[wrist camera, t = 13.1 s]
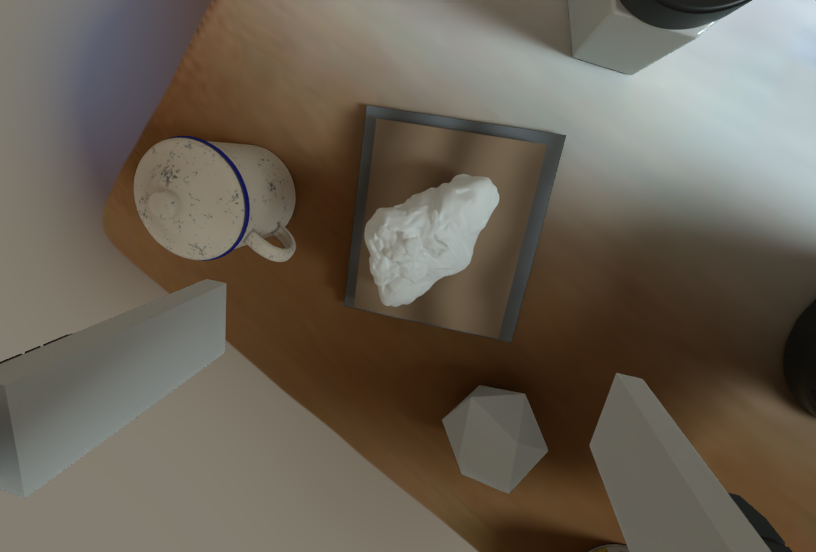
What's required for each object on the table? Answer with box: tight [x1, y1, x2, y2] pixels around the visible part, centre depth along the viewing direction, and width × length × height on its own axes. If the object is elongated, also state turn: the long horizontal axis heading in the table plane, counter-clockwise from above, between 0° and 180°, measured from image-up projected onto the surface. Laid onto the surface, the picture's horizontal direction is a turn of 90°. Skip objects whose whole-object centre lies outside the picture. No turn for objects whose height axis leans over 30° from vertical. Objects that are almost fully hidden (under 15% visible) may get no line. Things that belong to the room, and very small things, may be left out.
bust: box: [364, 174, 499, 307], centre depth 27 cm, size 12×8×11 cm
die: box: [442, 385, 549, 494], centre depth 35 cm, size 8×9×10 cm
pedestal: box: [344, 105, 566, 343], centre depth 33 cm, size 16×18×3 cm
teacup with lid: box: [134, 136, 296, 262], centre depth 31 cm, size 12×9×12 cm
